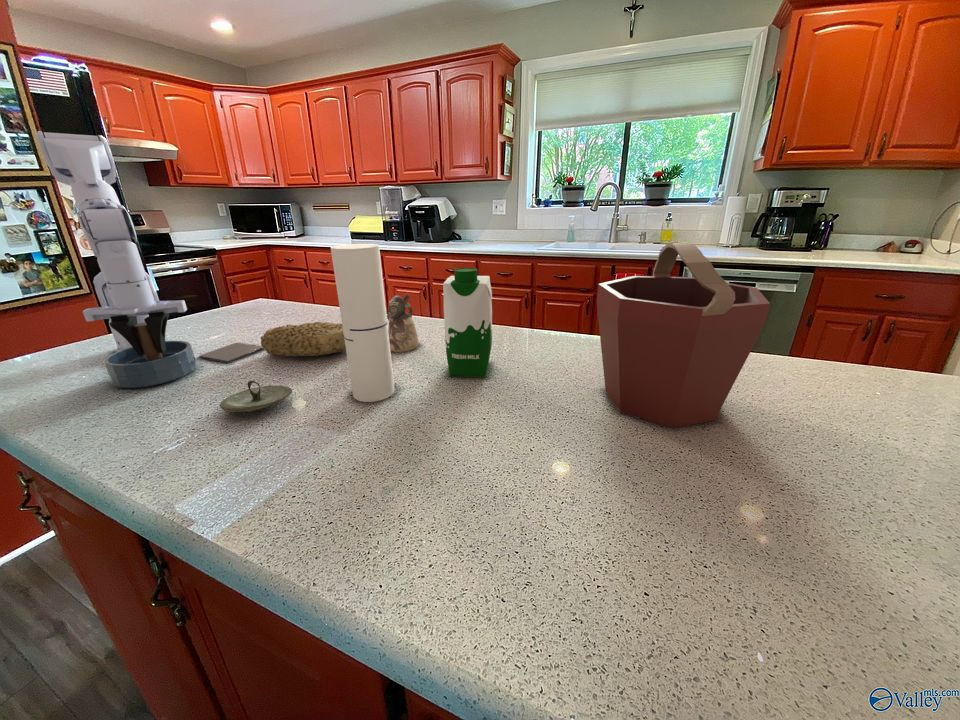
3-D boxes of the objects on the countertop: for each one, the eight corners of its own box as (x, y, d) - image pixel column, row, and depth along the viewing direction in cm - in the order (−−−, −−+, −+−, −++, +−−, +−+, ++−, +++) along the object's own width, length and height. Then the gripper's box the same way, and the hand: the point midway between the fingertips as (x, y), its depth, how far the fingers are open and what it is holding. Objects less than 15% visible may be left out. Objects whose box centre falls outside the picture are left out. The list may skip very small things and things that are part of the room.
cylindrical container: (384, 403, 66) (365, 249, 56) (345, 399, 67) (320, 248, 58) (400, 385, 72) (386, 243, 63) (364, 382, 74) (345, 243, 64)
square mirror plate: (199, 357, 87) (199, 355, 87) (236, 344, 94) (236, 342, 94) (228, 363, 84) (227, 361, 83) (264, 349, 91) (263, 347, 91)
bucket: (743, 457, 51) (800, 259, 41) (572, 421, 60) (586, 251, 50) (724, 382, 71) (759, 238, 62) (599, 364, 80) (613, 235, 71)
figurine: (384, 344, 93) (378, 293, 89) (413, 339, 96) (409, 290, 91) (391, 354, 87) (385, 300, 83) (422, 348, 90) (418, 296, 85)
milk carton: (444, 378, 75) (438, 271, 67) (451, 360, 83) (447, 263, 76) (490, 379, 74) (489, 272, 66) (493, 361, 82) (493, 263, 75)
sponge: (260, 366, 85) (338, 355, 79) (251, 330, 84) (329, 316, 78) (303, 355, 97) (373, 345, 91) (296, 323, 96) (366, 311, 90)
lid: (239, 436, 60) (236, 410, 58) (208, 404, 64) (205, 378, 62) (303, 410, 68) (304, 387, 66) (272, 383, 72) (272, 360, 70)
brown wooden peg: (146, 370, 76) (130, 325, 72) (161, 365, 78) (145, 321, 75) (155, 372, 75) (139, 327, 71) (169, 367, 77) (154, 323, 74)
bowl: (97, 384, 75) (87, 359, 73) (170, 359, 86) (163, 337, 84) (141, 395, 70) (131, 369, 68) (212, 367, 81) (205, 344, 80)
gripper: (62, 289, 64) (94, 366, 69) (169, 281, 69) (192, 353, 74) (83, 281, 70) (111, 353, 75) (180, 274, 75) (200, 342, 80)
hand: (152, 352), depth 75 cm, fingers closed on brown wooden peg, 2 cm apart
